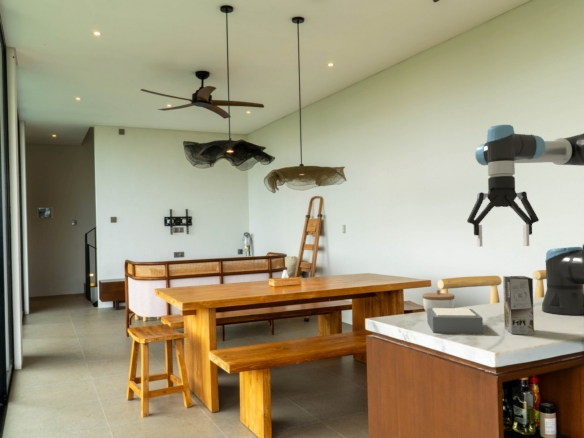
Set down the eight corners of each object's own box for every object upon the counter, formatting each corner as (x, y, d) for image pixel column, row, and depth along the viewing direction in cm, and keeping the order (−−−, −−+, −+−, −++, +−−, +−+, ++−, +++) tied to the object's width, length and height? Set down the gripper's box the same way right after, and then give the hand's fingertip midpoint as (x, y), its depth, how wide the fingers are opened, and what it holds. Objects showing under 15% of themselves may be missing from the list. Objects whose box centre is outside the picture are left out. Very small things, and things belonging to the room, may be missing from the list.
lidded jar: (461, 318, 167) (460, 291, 167) (431, 320, 165) (431, 292, 165) (445, 313, 178) (444, 287, 178) (417, 315, 176) (417, 288, 176)
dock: (472, 323, 159) (471, 307, 159) (482, 333, 143) (482, 316, 143) (427, 322, 161) (427, 307, 162) (433, 332, 146) (432, 315, 146)
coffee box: (535, 335, 140) (533, 278, 141) (511, 334, 142) (509, 278, 142) (526, 328, 149) (525, 275, 150) (504, 328, 151) (502, 275, 151)
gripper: (539, 176, 153) (541, 245, 152) (456, 178, 155) (457, 246, 155) (549, 174, 145) (551, 246, 145) (462, 176, 148) (463, 246, 147)
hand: (503, 246), depth 150 cm, fingers open, 13 cm apart
